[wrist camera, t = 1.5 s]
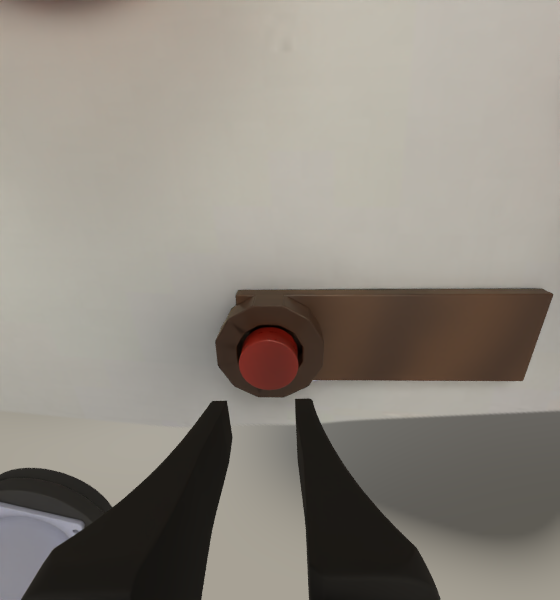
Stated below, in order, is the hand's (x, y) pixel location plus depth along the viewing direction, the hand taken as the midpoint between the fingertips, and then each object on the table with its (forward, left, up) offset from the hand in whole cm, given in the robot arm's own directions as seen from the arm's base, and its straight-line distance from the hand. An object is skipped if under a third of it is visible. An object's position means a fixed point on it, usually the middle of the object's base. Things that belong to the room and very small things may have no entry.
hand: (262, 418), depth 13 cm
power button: (0, 0, -5) cm, 5 cm away
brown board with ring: (+2, -7, -7) cm, 10 cm away
